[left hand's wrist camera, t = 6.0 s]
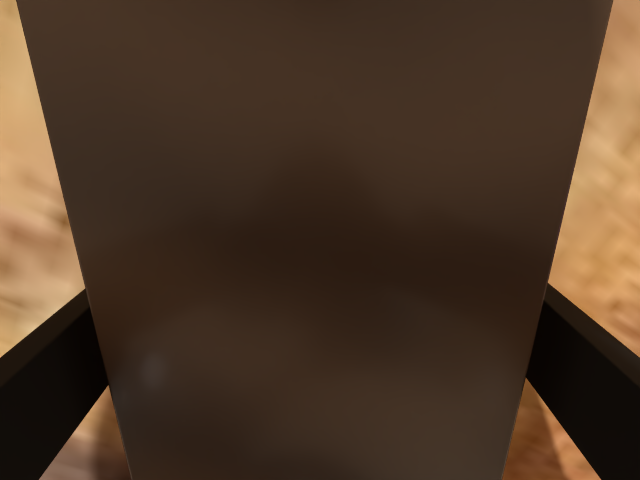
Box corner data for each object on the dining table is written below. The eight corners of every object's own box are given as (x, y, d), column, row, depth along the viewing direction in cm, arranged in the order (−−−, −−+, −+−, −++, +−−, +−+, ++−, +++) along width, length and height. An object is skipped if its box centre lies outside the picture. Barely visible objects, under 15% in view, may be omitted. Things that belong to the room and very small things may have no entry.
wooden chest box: (156, -116, 13) (-98, -459, 5) (475, -115, 13) (722, -454, 5) (211, 345, 19) (138, 514, 11) (423, 344, 19) (495, 512, 11)
